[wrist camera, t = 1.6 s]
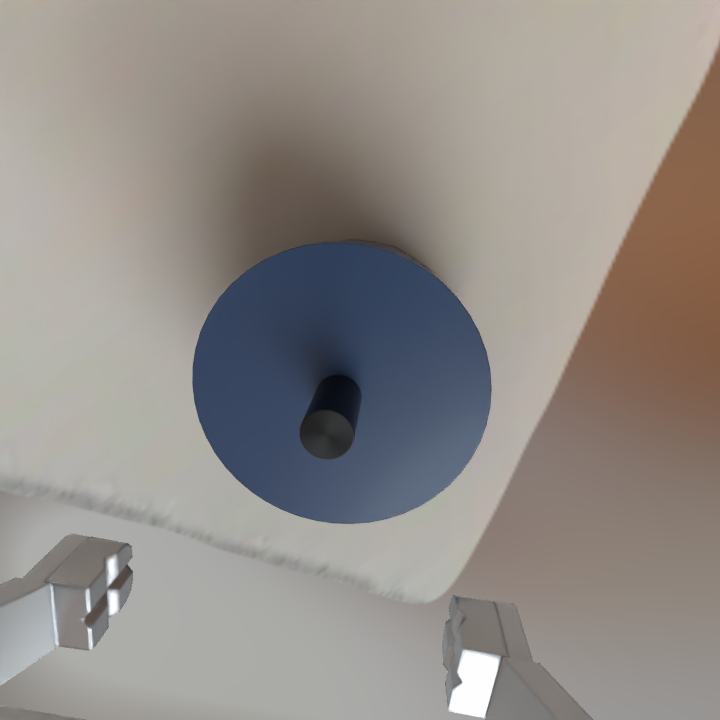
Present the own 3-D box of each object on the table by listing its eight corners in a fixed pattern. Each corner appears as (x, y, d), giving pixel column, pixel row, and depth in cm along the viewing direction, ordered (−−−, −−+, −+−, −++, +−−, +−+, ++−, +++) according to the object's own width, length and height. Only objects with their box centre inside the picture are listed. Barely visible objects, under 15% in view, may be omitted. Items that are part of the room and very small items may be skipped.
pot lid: (153, 421, 27) (95, 472, 22) (290, 176, 23) (258, 166, 18) (380, 556, 29) (376, 634, 24) (550, 352, 25) (592, 392, 19)
